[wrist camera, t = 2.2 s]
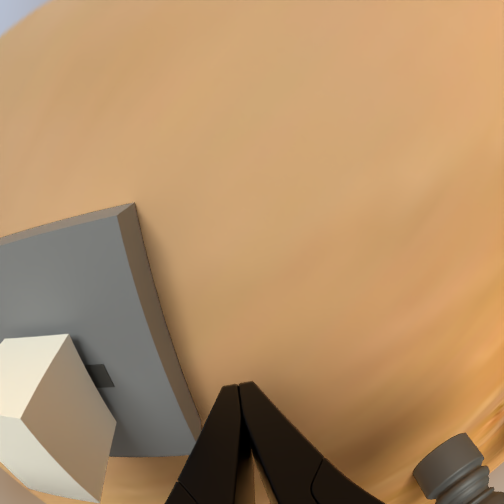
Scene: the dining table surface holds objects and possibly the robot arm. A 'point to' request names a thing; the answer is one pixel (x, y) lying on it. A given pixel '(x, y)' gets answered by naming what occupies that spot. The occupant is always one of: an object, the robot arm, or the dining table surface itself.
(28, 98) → the dining table surface
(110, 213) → the fader panel
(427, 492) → the candle holder
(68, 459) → the fader knob
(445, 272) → the dining table surface
